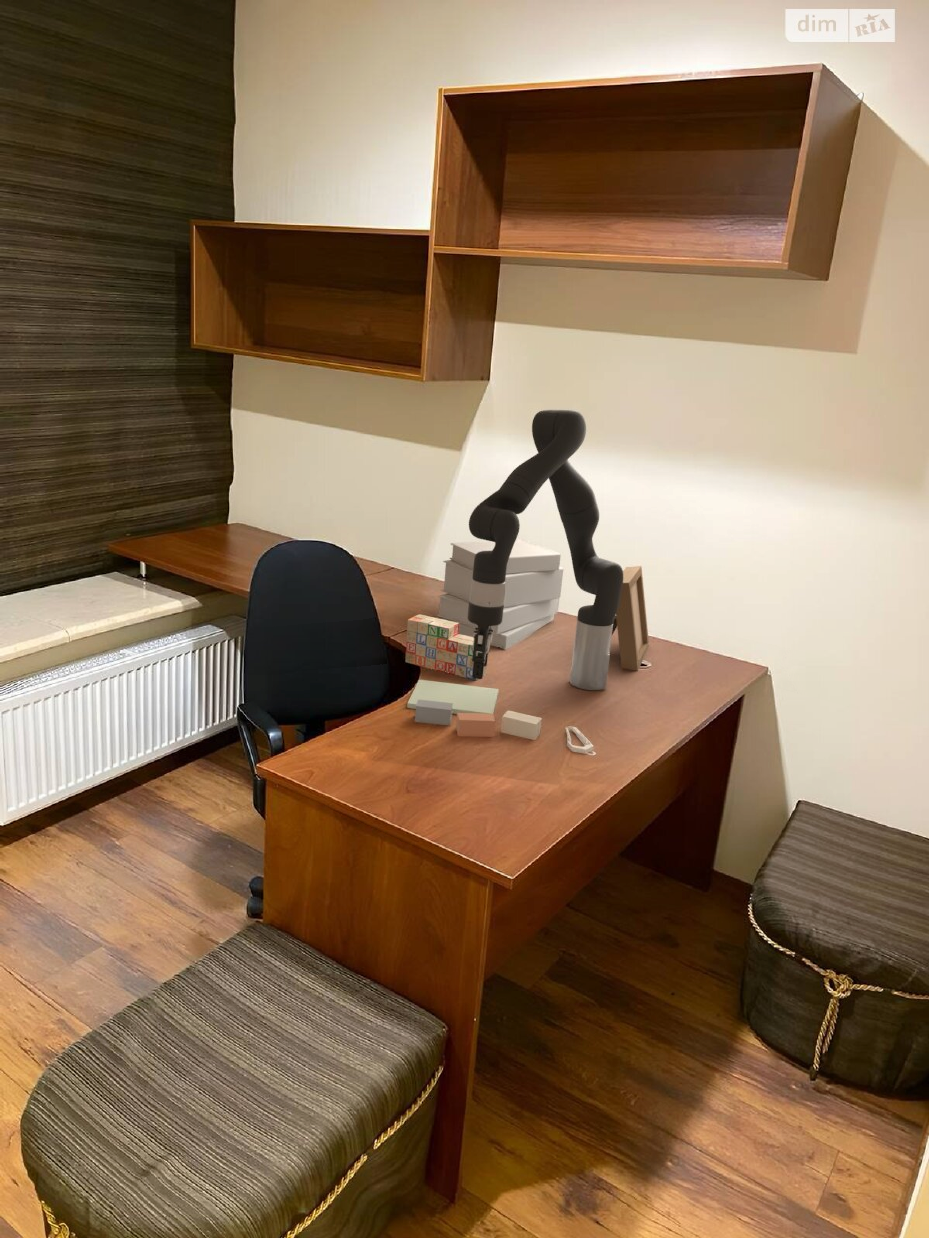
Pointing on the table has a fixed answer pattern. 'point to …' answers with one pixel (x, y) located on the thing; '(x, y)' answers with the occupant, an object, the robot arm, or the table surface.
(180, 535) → the table surface
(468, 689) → the sage baseplate
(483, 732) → the terracotta brick
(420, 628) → the stack of blocks
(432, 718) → the slate brick
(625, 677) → the table surface
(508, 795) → the table surface
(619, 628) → the photo frame
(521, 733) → the cream brick
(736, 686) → the table surface
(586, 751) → the white triangle frame
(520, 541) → the book stack
